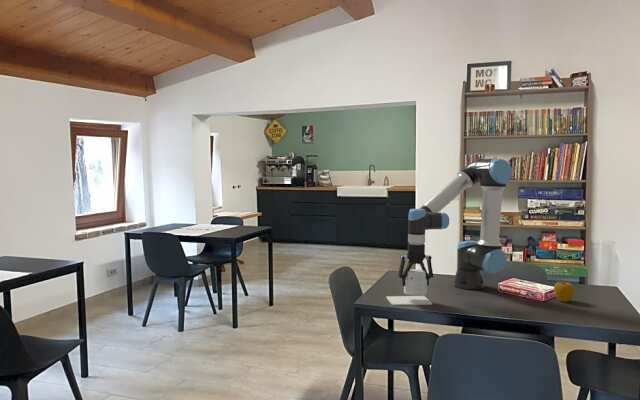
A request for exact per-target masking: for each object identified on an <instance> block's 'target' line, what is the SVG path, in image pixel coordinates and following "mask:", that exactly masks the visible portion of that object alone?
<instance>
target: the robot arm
mask: <svg viewBox="0 0 640 400" xmlns="http://www.w3.org/2000/svg"><path fill="white" fill-rule="evenodd" d="M512 178H513V168H512V165H511V164H510V163H509V162H508V161H507V160H505V159H503V158H478V159H475V160H472V162H470V163H468V164H467V165H465V166H464V167H463V168H462V169H460V171H458V172H457V174H456V177H454V178H453V179H452V180H451V181H449V182H448V183H447V184H446V185H445V186H444V187H443V188H441V189H440V190H439V191H438V192H437V193H436V194H434V196H432V197H431V198H430V199H428V201H426V202H425V203H424V204H422V206H420V207H419V208H410V209H409V211H408V218H407V220H408V221H407V222H408V224H407V225H408V229H407V230H408V231H407V233H408V234H407V242H408V244H407V254H406V255H400V264H399V269H398V274H397V277H399V278H400V279H401V285H402V286H403V293H404V294H406V295H408V294H407V279H406V277H407V275H408V271H410V269H411V268H412V267H413V265H419V266H420V268H421V270H423V271H425V272H426V277H425V295H426V294H427V292H428V291H427V290H428V288H427V287H428V286H429V285H430V279H431V278H434V272H433V266H432V256H431V255H430V254H429V255H428V254H426V253H425V252H426V250H425V249H426V244H425V243H426V231H428V230H444V229H447V228H448V227H449V225H450V217H449V215H448V214H447V213H446V212H441V211H442V210H443V209H444V208H445V207H446V206H448V205H449V204H450V203H452V201H453V200H455V199H456V198H457V197H459V196H460V195H461V194H462V193H463V192H464V191H465V190H466V189H467V188H472V187H473V186H475V185H476V184H479V183H480V184H479V185H480V186H479V187H480V188H481V189H482V190H483V191H482V200H481V201H482V205H481V220H480V236H479V240H469V241H467V240H466V241H465V240H464V241H459V242H458V244H457V254H456V255H457V256H456V257H457V258H456V259H457V261H456V263H457V264H456V266H457V267H456V272H455V275H454V278H453V280H452V281H453V282H452V285H453V286H454V287H456V288H458V289H463V290H482V289H484V288H485V281H484V277H483V274H482V271H483V272H486V273H491V274H496V273H499V272H501V271H502V269H504V267H505V266H506V264H507V254H506V253H505V251H504V250H503V244H502V243H501V242H500V231H501V218H502V217H501V216H502V214H501V213H502V202H503V201H502V200H503V199H502V198H503V192H504V190H505V189H506V188H507V184H508V183H509V182H510V181H511V179H512ZM407 259H408V262H407V265H406V267H405V263H406V261H407ZM424 260H426V265H427V268H426V266H425V263H424ZM404 268H405V269H404ZM427 270H428V271H427Z"/></svg>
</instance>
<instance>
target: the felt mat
mask: <svg viewBox="0 0 640 400" xmlns="http://www.w3.org/2000/svg"><path fill="white" fill-rule="evenodd" d="M385 298H386V299H387V300H388V302H389V304H391V305H392V306H420V305H421V306H427V305H429V306H430V305H433V302H431V300H429V299H428V298H427V297H426V296H425V295H398V296H397V295H392V296H388V295H387V296H385Z"/></svg>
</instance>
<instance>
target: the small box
mask: <svg viewBox="0 0 640 400" xmlns="http://www.w3.org/2000/svg"><path fill="white" fill-rule="evenodd" d="M425 277H426V272H425V271H423V270H422V269H415V268H413V269H411V268H410V271H408V275H407V277H406V279H407V294H406V295H407V296H425V295H426V294H425Z"/></svg>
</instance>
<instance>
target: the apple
mask: <svg viewBox="0 0 640 400" xmlns="http://www.w3.org/2000/svg"><path fill="white" fill-rule="evenodd" d="M553 292H554V295H555V297H556V299H557V300H558V301H559V302H561V301H562V302H561V303H563V302H564V303H568V302H570V301H571V300H572V299H573V297H574V295H575V293H576V288H575V286H574V285H573V284H572V283H570V282H566V281H557V282H556V283H555V284H554V286H553Z"/></svg>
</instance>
